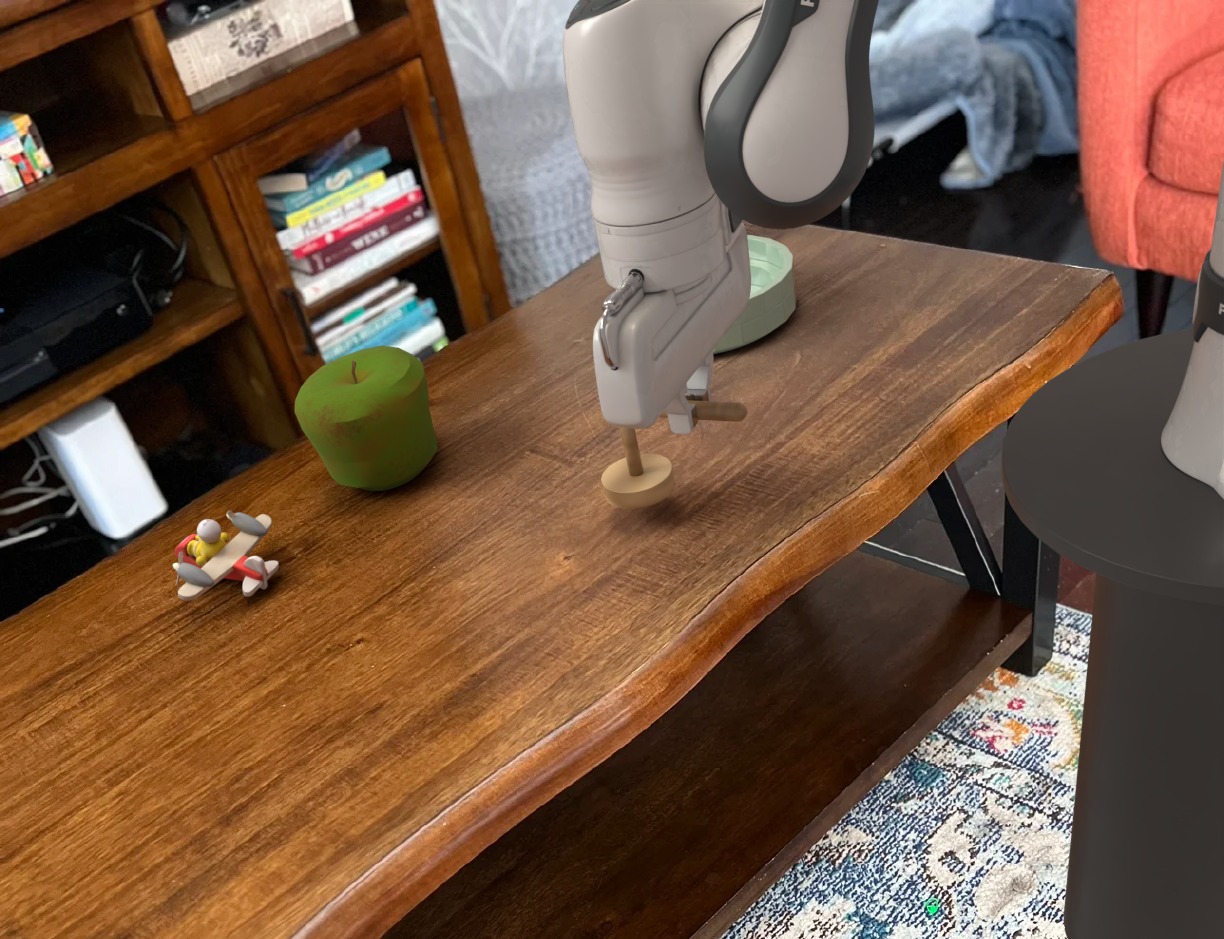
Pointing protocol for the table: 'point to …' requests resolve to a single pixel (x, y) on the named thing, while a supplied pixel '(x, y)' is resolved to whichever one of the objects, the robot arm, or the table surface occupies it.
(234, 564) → the toy airplane
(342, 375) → the apple
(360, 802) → the table surface
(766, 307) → the bowl
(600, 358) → the robot arm
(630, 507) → the wooden disc crank
